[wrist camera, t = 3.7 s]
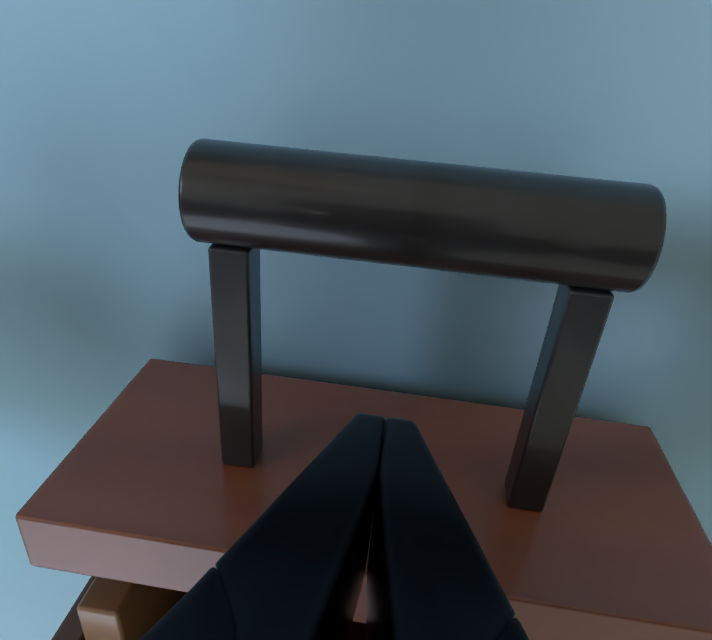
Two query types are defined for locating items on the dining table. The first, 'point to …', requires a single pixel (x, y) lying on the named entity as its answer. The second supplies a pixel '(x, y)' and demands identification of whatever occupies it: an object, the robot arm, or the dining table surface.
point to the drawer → (390, 402)
